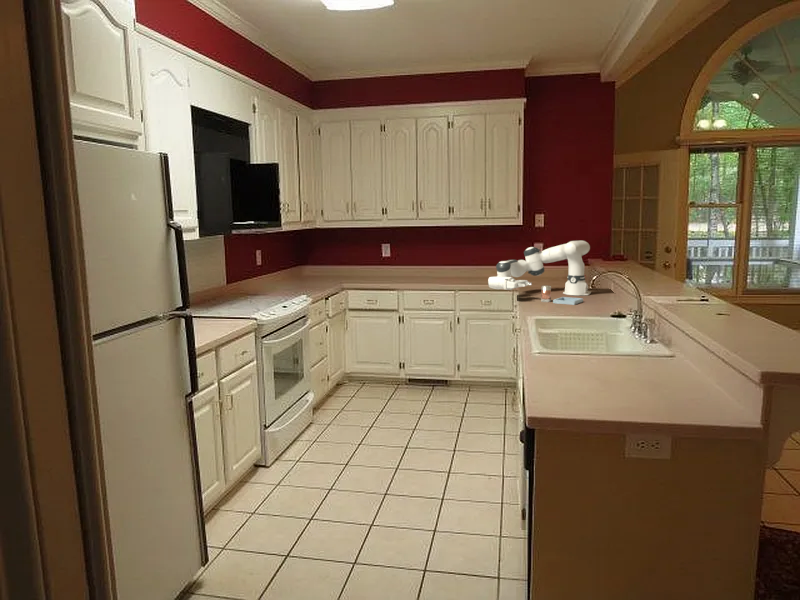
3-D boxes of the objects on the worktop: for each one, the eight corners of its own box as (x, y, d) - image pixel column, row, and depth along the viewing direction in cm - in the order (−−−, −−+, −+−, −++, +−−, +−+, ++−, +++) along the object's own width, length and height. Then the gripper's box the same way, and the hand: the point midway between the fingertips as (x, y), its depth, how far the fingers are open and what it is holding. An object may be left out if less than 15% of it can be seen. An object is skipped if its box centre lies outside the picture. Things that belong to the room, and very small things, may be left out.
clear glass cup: (543, 301, 386) (543, 285, 384) (552, 302, 382) (552, 285, 380) (539, 302, 381) (540, 286, 379) (548, 303, 377) (548, 286, 376)
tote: (562, 301, 386) (562, 296, 386) (583, 302, 378) (583, 298, 377) (553, 304, 373) (553, 299, 373) (574, 306, 365) (574, 301, 365)
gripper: (516, 286, 404) (534, 287, 395) (502, 289, 388) (521, 290, 379) (516, 277, 403) (534, 278, 395) (502, 280, 387) (521, 281, 378)
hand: (528, 284), depth 387 cm, fingers open, 8 cm apart
